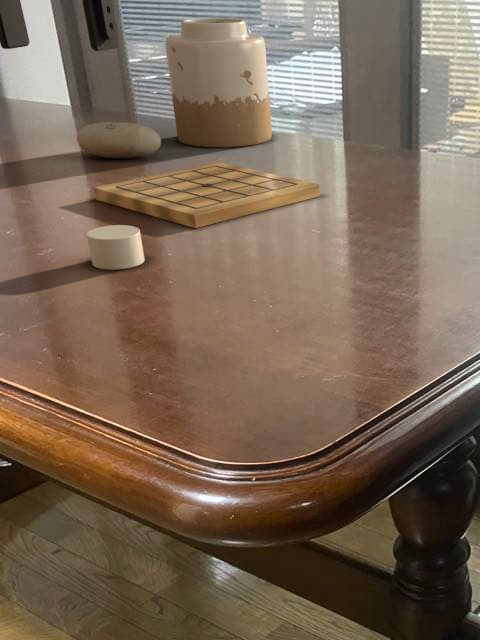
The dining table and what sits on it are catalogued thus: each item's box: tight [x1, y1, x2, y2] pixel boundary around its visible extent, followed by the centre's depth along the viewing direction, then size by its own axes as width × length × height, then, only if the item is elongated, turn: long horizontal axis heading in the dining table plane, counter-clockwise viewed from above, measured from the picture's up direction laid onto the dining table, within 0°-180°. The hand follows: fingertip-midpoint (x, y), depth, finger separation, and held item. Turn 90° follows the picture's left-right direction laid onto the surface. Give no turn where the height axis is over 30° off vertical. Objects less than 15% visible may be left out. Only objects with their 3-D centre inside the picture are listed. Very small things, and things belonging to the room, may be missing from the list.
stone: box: [76, 121, 162, 160], centre depth 130 cm, size 6×6×12 cm
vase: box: [164, 17, 273, 148], centre depth 139 cm, size 15×15×17 cm
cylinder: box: [86, 224, 146, 271], centre depth 88 cm, size 5×5×3 cm
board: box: [93, 161, 321, 229], centre depth 111 cm, size 20×20×2 cm
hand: (60, 48), depth 79 cm, fingers open, 9 cm apart
